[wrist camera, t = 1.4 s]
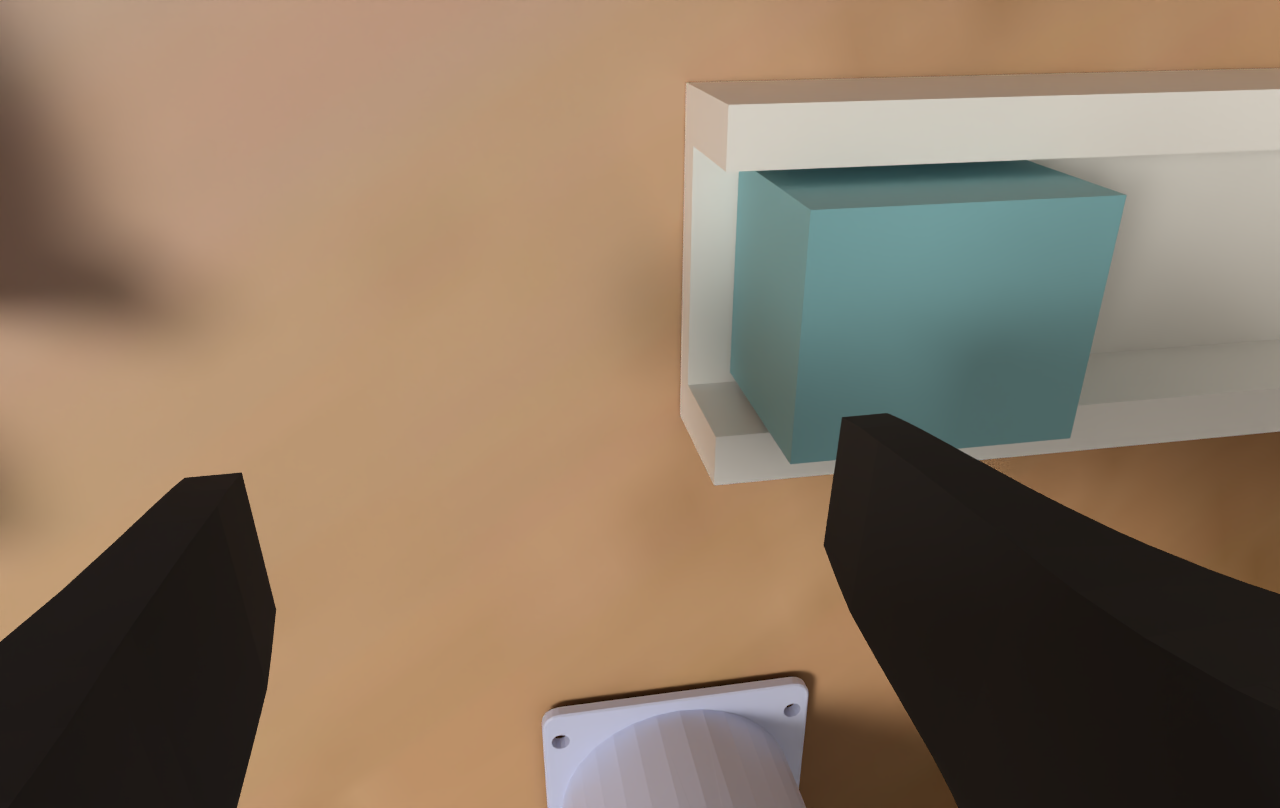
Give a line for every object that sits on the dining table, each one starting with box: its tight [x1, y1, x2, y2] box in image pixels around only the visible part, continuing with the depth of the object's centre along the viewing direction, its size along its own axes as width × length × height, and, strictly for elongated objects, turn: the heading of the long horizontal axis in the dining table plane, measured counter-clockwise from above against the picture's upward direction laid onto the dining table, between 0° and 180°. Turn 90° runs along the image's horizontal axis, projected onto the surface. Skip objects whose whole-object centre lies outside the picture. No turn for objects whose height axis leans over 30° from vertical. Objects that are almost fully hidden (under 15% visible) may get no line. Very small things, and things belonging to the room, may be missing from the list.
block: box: [730, 160, 1127, 464], centre depth 19 cm, size 6×5×4 cm
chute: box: [680, 68, 1280, 485], centre depth 21 cm, size 20×8×4 cm, turn 90°
